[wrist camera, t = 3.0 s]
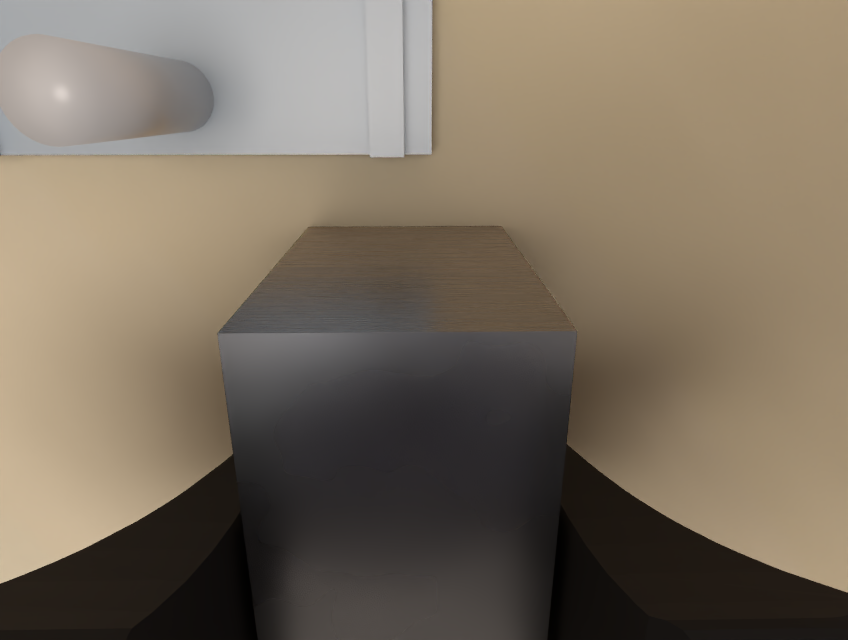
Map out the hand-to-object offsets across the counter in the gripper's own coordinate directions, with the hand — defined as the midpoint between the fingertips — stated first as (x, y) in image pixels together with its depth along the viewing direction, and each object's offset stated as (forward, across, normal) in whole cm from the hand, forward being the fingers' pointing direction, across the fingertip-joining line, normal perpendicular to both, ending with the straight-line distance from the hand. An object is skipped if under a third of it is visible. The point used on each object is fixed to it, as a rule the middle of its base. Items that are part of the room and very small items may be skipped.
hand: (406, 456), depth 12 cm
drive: (+2, 0, 0) cm, 2 cm away
